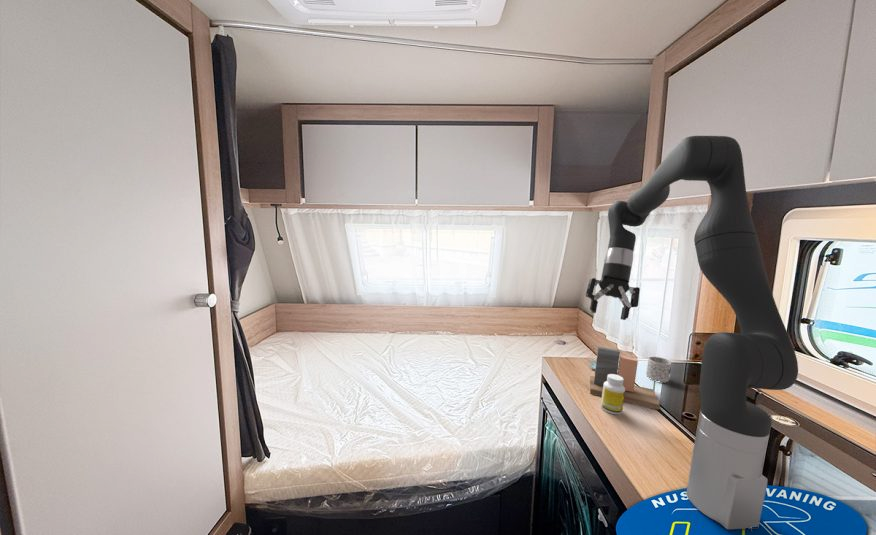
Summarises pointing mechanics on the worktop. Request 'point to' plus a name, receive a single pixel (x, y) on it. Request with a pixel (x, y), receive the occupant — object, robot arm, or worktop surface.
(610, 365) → the stand
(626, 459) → the worktop surface
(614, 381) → the supplement bottle
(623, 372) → the orange rectangular block
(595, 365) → the pacifier
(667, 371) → the mug
